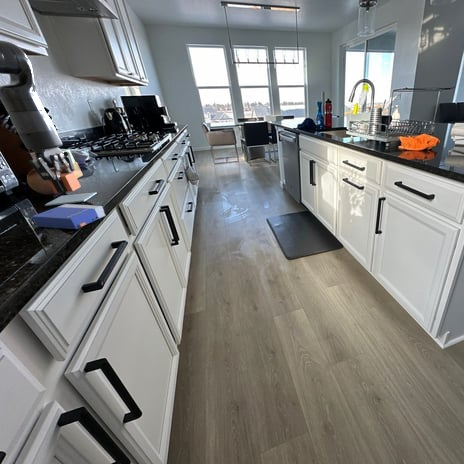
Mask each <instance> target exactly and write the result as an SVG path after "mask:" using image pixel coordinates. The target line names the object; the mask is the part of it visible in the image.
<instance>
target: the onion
mask: <svg viewBox="0 0 464 464" xmlns="http://www.w3.org/2000/svg"><path fill="white" fill-rule="evenodd" d="M49 169H54V168H49ZM52 173H53V174H54V172H52ZM44 174H45V175H46V173H44ZM59 174H61V173H60V172H59ZM54 175H55V174H54ZM46 176H47V175H46ZM26 182H27V184H28V186H29V188H31V190H33V191H35V192H37V193H39V194H42V195H46V196H50V195H51V196H52V195H57V193H55V192H54V190H53V188H52V187H51V185H50V183H49V181H48V180H43V179H42V178H41V176H40V175H39V174H38V173H37V171H36V170H35V169H34V168H32V169H31V170H29V172H28V173H27V175H26Z"/></svg>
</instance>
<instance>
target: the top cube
mask: <svg viewBox="0 0 464 464" xmlns="http://www.w3.org/2000/svg"><path fill="white" fill-rule="evenodd" d="M60 177H61V180H62V181H63V183H64V185H65V187H66V189H67V192H66V193H68V192H69V193H70V192H74V191H76V190H79V188H81V187H82V186H81V184H80V182H79V180H78V178H76V175H75V173H74V172H73V173H62V174H60ZM48 181H49V180H48ZM49 183H50V185H51V187H52V188H53V190H54V192H55V193H56V194H59V193H58V192H57V190H56V189H55V187H54V185H53V183H52V182H51V181H49Z"/></svg>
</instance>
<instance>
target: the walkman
mask: <svg viewBox="0 0 464 464" xmlns="http://www.w3.org/2000/svg"><path fill="white" fill-rule="evenodd" d="M103 217H106V213H105V210H104V207H103V205H90V204H75V203H67V204H61V205H60V206H57V207H54V208H50V209H48V210H45V211H43V212H39V213H37V214H34V215H32V216H31V218H32V220H33V221H34V223H35V224H36V226H37V227H38V228H51V229H65V230H66V229H70V230H78V229H80V228H82V227H85V226H86V225H89V224H90V223H93V222H95V221H97V220H99V219H101V218H103Z"/></svg>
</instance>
